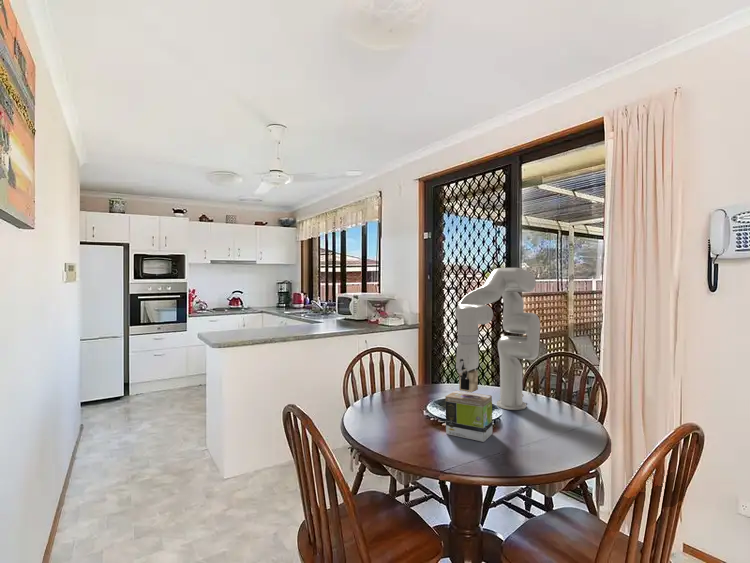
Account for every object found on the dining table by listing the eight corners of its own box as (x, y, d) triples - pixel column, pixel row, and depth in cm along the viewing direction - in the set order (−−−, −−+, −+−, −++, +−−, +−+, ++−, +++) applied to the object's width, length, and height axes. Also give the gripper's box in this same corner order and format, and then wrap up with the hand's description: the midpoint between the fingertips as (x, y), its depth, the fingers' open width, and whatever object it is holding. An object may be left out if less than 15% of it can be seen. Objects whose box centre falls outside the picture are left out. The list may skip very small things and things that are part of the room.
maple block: (465, 387, 162) (465, 369, 162) (477, 389, 159) (477, 370, 159) (459, 390, 158) (459, 371, 158) (471, 392, 155) (471, 373, 155)
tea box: (493, 434, 159) (492, 395, 159) (483, 443, 151) (483, 402, 150) (455, 426, 168) (455, 389, 167) (445, 434, 159) (444, 395, 159)
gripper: (469, 335, 167) (469, 381, 168) (447, 341, 154) (448, 391, 155) (487, 337, 162) (487, 384, 163) (466, 343, 149) (467, 394, 150)
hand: (468, 387), depth 159 cm, fingers closed on maple block, 5 cm apart
